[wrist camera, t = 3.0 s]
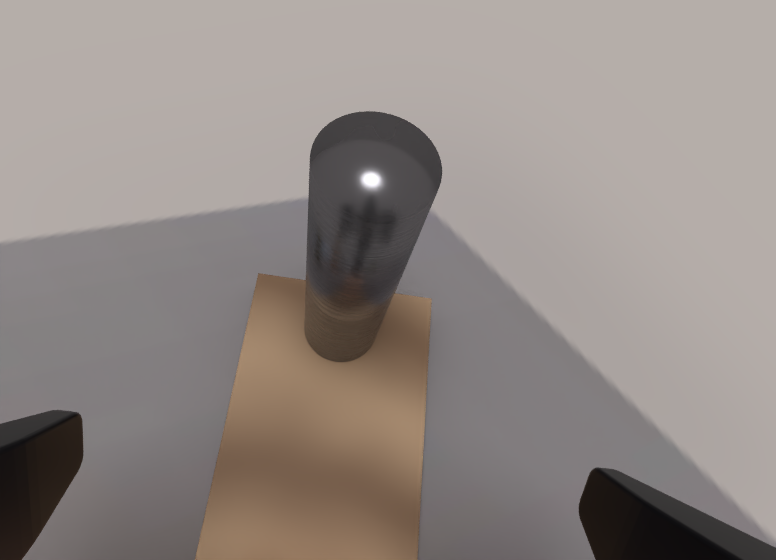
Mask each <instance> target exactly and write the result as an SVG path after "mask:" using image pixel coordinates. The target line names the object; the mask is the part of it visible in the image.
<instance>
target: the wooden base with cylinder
mask: <svg viewBox="0 0 776 560" xmlns="http://www.w3.org/2000/svg"><path fill="white" fill-rule="evenodd" d="M441 178H442V166H441V160H440V157H439V154H438V152H437V150H436V148H435V146H434V145H433V143H432V142H431V140H430V139H429V138H428V137H427V136H426V135H425V134H424V133H423V132H422V131H421V130H420V129H419V128H417V127H416V126H415V125H413V124H411V123H410V122H408V121H406V120H404V119H402V118H400V117H397V116H394V115H391V114H386V113H381V112H356V113H351V114H348V115H344V116H342V117H340V118H337V119H335V120H334V121H332V122H330V123H329V124H328V125H327V126H325V127H324V128H323V129H322V130H321V131H320V133H319V134H318V136H317V137H316V139H315V141H314V143H313V145H312V149H311V154H310V172H309V202H308V231H307V261H306V280H300V279H293V278H286V277H279V276H273V275H266V274H259V273H258V278H257V282H256V287H255V291H254V296H253V300H252V305H251V309H250V314H249V318H248V323H247V327H246V332H245V336H244V341H243V345H242V350H241V354H240V359H239V363H238V368H237V372H236V377H235V381H234V386H233V390H232V395H231V399H230V404H229V408H228V413H227V417H226V422H225V426H224V431H223V435H222V440H221V444H220V449H219V453H218V458H217V462H216V467H215V471H214V476H213V480H212V485H211V489H210V494H209V498H208V503H207V507H206V512H205V516H204V521H203V525H202V530H201V534H200V539H199V543H198V548H197V552H196V557H195V560H417V554H418V536H419V518H420V500H421V481H422V463H423V445H424V427H425V408H426V390H427V372H428V354H429V336H430V317H431V299H430V298H423V297H416V296H409V295H403V294H396V293H395V291H396V289H397V286H398V284H399V281H400V279H401V277H402V274H403V272H404V270H405V267H406V265H407V262H408V260H409V258H410V255H411V253H412V251H413V248H414V246H415V244H416V241H417V239H418V236H419V234H420V232H421V229H422V227H423V225H424V222H425V220H426V217H427V215H428V213H429V210H430V208H431V206H432V203H433V201H434V198H435V196H436V194H437V191H438V189H439V186H440V183H441Z"/></svg>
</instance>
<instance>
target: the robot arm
mask: <svg viewBox="0 0 776 560" xmlns="http://www.w3.org/2000/svg"><path fill="white" fill-rule="evenodd" d="M82 459H83V426H82V418H81V415H80V414H79V413H77V412H72V411H63V410H52V411H48V412H44V413H40V414H36V415H33V416H29V417H25V418H21V419H17V420H13V421H10V422H6V423H2V424H0V560H22V558H23V557H24V556H25V554H26V553H27V552H28V550H29V549H30V547H31V546H32V545H33V543H34V542H35V540H36V539H37V537H38V536H39V534H40V533H41V531H42V529H43V528H44V526H45V525H46V523H47V521H48V520H49V518H50V516H51V515H52V513H53V511H54V510H55V508H56V506H57V505H58V503H59V502H60V500H61V498H62V497H63V495H64V493H65V492H66V490H67V488H68V487H69V485H70V484H71V482H72V480H73V479H74V477H75V475H76V474H77V472H78V470H79V468H80V466H81V463H82ZM579 516H580V520H581V522H582V525H583V528H584V530H585V533H586V536H587V538H588V541H589V544H590V546H591V549H592V551H593V554H594V557H595V559H596V560H776V548H775V547H773V546H771V545H769V544H767V543H765V542H763V541H761V540H759V539H756V538H754V537H752V536H750V535H748V534H746V533H744V532H742V531H740V530H738V529H736V528H734V527H732V526H730V525H728V524H726V523H724V522H722V521H720V520H718V519H716V518H714V517H712V516H709V515H707V514H705V513H703V512H701V511H699V510H697V509H695V508H693V507H691V506H689V505H687V504H685V503H683V502H681V501H679V500H677V499H675V498H673V497H671V496H669V495H667V494H664V493H662V492H660V491H658V490H656V489H654V488H652V487H650V486H648V485H646V484H644V483H642V482H640V481H638V480H636V479H634V478H632V477H630V476H628V475H626V474H624V473H622V472H619V471H617V470H614V469H607V468H594V469H593V470H592V471H591V472H590V474H589V477H588V480H587V482H586V485H585V488H584V491H583V494H582V496H581V499H580V503H579Z"/></svg>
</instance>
